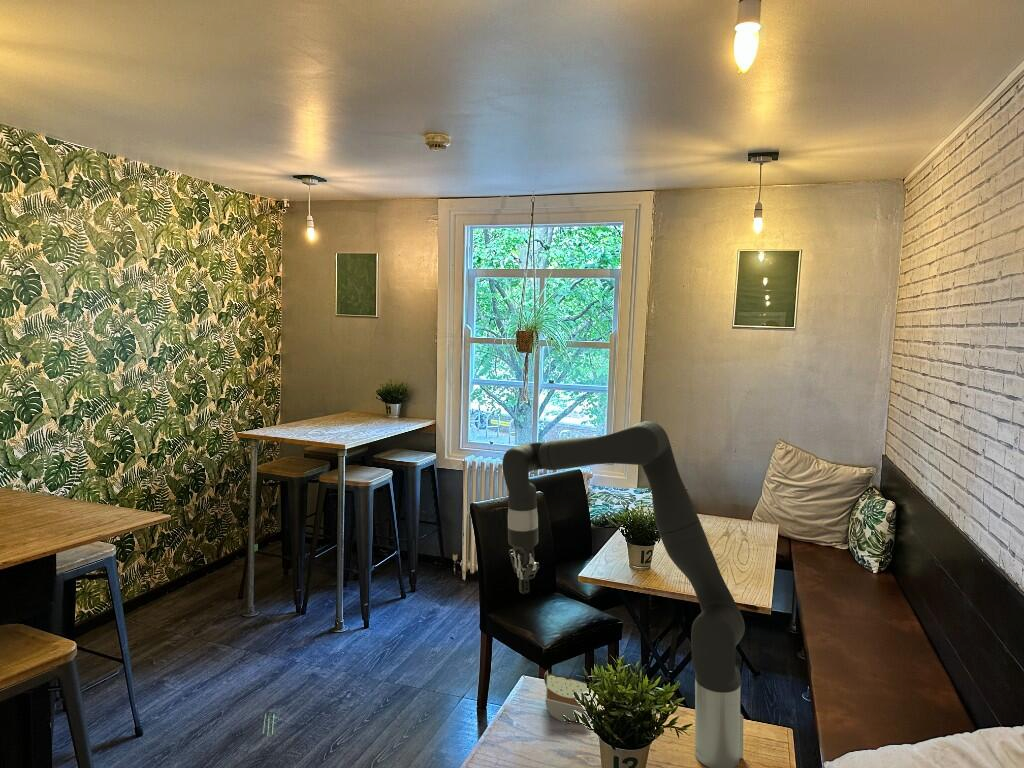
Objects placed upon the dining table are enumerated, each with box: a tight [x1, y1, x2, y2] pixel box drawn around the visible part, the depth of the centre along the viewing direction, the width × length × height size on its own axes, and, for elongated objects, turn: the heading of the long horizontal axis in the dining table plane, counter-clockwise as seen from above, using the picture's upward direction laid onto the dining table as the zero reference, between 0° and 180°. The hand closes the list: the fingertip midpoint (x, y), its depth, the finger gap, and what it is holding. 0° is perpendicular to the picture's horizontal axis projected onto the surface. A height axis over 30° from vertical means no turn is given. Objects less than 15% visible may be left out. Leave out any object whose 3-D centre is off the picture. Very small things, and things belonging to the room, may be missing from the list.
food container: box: [543, 669, 588, 722], centre depth 159 cm, size 12×6×10 cm
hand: (524, 592), depth 164 cm, fingers closed
